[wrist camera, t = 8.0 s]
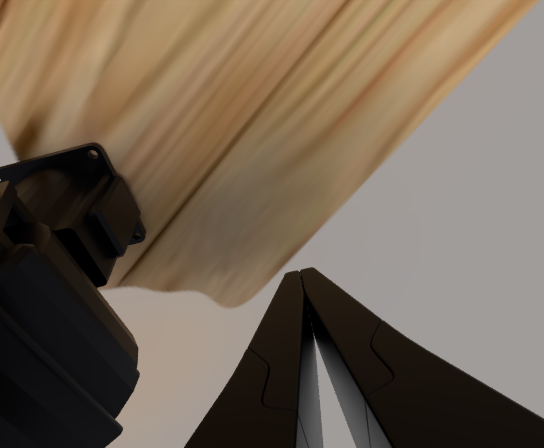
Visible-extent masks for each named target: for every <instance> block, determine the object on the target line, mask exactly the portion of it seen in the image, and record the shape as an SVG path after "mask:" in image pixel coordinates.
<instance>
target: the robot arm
mask: <svg viewBox="0 0 544 448" xmlns="http://www.w3.org/2000/svg"><path fill="white" fill-rule="evenodd" d="M90 150H94V151H96V152H97V154H98V156H93V155H92V154H91V153H90ZM0 179H1V181H0V448H105V447H106V446H107V445H109V444H110V443H111V442H112V441H113V440H115V439H116V438H117V437H118V436H119V435H120V434H121V432H122V431H123V427H122V426H121V425H120V424H119V423H118V422H117V421H116V420H115V418H116V417H117V416H118V415H119V413H120V412H121V410H122V408H123V407H124V405H125V404H126V402H127V401H128V399H129V397H130V396H131V394H132V393H133V391H134V388H135V386H136V384H137V381H138V378H139V375H140V373H139V371H138V370H137V363H138V346H137V344H136V342H135V339H134V337H133V335H132V333H131V332H130V331H129V330H128V328H127V327H126V326H125V325H124V323H123V322H122V321H121V319H120V318H119V317H118V315H117V314H116V313H115V311H114V310H113V309H112V308H111V306H110V305H109V304H108V302H107V301H106V300H105V299H104V298H103V296H102V295H101V293H100V292H99V291H98V289H97V287H101V286H104V285H106V284H107V282H108V279H109V277H110V274H111V272H112V269H113V267H114V265H115V262H116V260H117V258H119V257H122V256H123V255H124V253H125V251H126V249H127V246H128V245H132V244H136V243H140V242H142V241H143V240H144V239H145V236H146V230H145V228H144V226H143V225H142V223H141V221H140V219H139V216H140V211H139V209H138V207H137V205H136V203H135V202H134V200H133V198H132V196H131V194H130V192H129V190H128V188H127V186H126V184H125V182H124V180H123V178H121V177H120V176H118V175H117V174H116V172H115V170H114V168H113V166H112V165H111V163H110V161H109V159H108V157H107V155H106V153H105V151H104V149H103V148H102V147H101V146H100V145H99V144H96V143H89V144H85V145H82V146H78V147H74V148H70V149H66V150H63V151H59V152H55V153H51V154H48V155H44V156H40V157H36V158H32V159H29V160H25V161H21V162H17V163H14V164H10V165H6V166H2V167H0ZM134 233H139V234H140V236H137V235H135V234H134ZM300 275H301V276H300ZM307 306H308V307H307ZM309 315H310V316H309ZM311 324H312V325H311ZM312 328H313V329H312ZM313 333H314V334H313ZM314 336H315V340H316V343H317V345H318V348H319V351H320V354H321V356H322V359H323V361H324V364H325V367H326V369H327V372H328V374H329V377H330V379H331V382H332V385H333V387H334V390H335V393H336V395H337V398H338V401H339V403H340V406H341V408H342V411H343V413H344V416H345V419H346V421H347V424H348V427H349V429H350V432H351V434H352V437H353V440H354V442H355V445H356V447H357V448H544V418H542V417H540V416H539V415H537V414H535V413H533V412H532V411H530V410H528V409H527V408H525V407H523V406H521V405H520V404H518V403H516V402H515V401H513V400H511V399H510V398H508V397H506V396H504V395H503V394H501V393H499V392H498V391H496V390H494V389H493V388H491V387H489V386H487V385H486V384H484V383H482V382H481V381H479V380H477V379H476V378H474V377H472V376H471V375H469V374H467V373H465V372H464V371H462V370H460V369H459V368H457V367H455V366H453V365H452V364H450V363H448V362H446V361H445V360H443V359H441V358H440V357H438V356H437V355H435V354H433V353H431V352H430V351H428V350H426V349H425V348H423V347H421V346H420V345H418V344H417V343H415V342H413V341H412V340H410V339H409V338H407V337H406V336H404V335H403V334H401V333H400V332H399V331H397V330H396V329H394V328H393V327H392V326H390V325H389V324H387V323H386V322H385V321H382V319H381V318H379V317H378V316H376V315H375V314H374V313H373V312H371V311H370V310H368V309H367V308H366V307H365V306H363V305H362V304H361V303H360V302H358V301H357V300H355V299H354V298H353V297H351V296H350V295H349V294H348V293H346V292H345V291H344V290H342V289H341V288H340V287H339V286H337V285H336V284H334V283H333V282H332V281H331V280H329V279H328V278H327V277H325V276H324V275H323V274H321V273H320V272H319V271H318V270H316V269H315V268H313V267H311V268H306V269H302V270H301V271H300V272H299V271H292V272H288V273H286V274H285V275H284V278H283V279H282V281H281V283H280V285H279V287H278V289H277V291H276V293H275V295H274V297H273V299H272V301H271V303H270V305H269V307H268V309H267V311H266V313H265V315H264V317H263V319H262V320H261V322H260V325H259V326H258V328H257V331H256V332H255V334H254V336H253V338H252V340H251V342H250V344H249V346H248V349H246V351H245V353H244V355H243V357H242V359H241V361H240V362H239V364H238V366H237V368H236V370H235V371H234V373H233V375H232V377H231V378H230V380H229V381H228V383H227V384H226V386H225V387H224V389H223V391H222V392H221V394H220V395H219V396H218V398H217V400H216V401H215V402H214V404H213V406H212V407H211V408H210V410H209V411H208V413H207V414H206V416H205V417H204V419H203V421H202V422H201V423H200V424H199V426H198V428H197V429H196V430H195V432H194V433H193V435H192V436H191V438H190V439H189V441H188V442H187V444H186V445H185V447H184V448H323V438H322V426H321V425H322V424H321V412H320V400H319V388H318V375H317V362H316V349H315V340H314Z"/></svg>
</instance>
